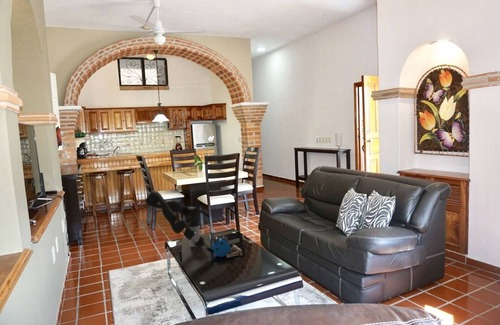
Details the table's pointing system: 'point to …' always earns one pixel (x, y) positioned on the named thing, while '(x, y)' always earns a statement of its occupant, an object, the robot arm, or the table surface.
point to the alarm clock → (221, 246)
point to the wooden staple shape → (237, 252)
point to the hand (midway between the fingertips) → (212, 252)
